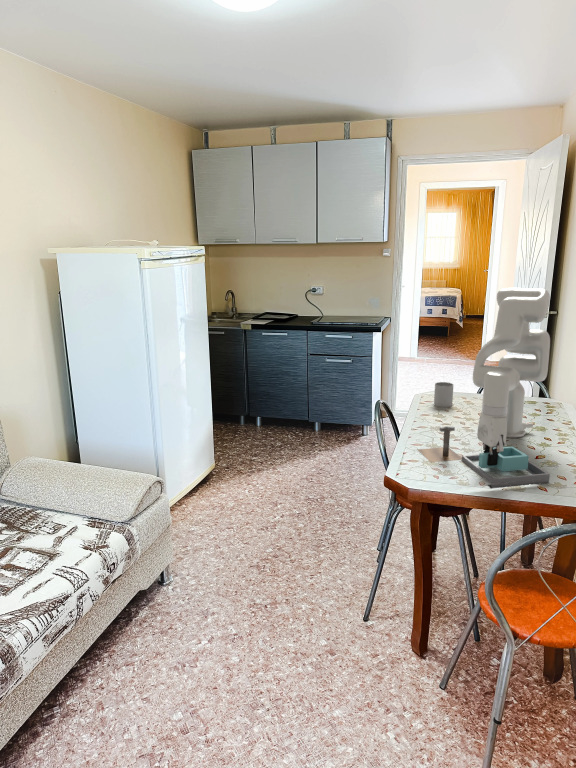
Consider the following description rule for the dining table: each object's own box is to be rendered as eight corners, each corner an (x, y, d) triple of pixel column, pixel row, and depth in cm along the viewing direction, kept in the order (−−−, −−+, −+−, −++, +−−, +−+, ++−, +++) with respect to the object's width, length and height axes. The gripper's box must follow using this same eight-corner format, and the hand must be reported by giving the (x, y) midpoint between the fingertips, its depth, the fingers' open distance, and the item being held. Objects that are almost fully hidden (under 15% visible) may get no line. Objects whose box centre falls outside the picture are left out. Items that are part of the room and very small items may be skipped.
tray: (513, 459, 185) (514, 451, 184) (548, 482, 166) (549, 474, 165) (461, 463, 182) (461, 455, 181) (491, 488, 163) (492, 479, 163)
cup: (434, 406, 247) (435, 386, 244) (433, 401, 255) (434, 382, 252) (453, 407, 245) (454, 386, 243) (451, 402, 253) (452, 382, 251)
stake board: (447, 450, 194) (449, 419, 191) (463, 463, 182) (465, 430, 179) (416, 453, 192) (418, 422, 189) (430, 466, 181) (432, 433, 178)
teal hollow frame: (473, 461, 176) (474, 449, 175) (511, 458, 178) (512, 446, 177) (487, 472, 168) (488, 459, 167) (527, 469, 170) (528, 456, 169)
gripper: (471, 403, 175) (467, 455, 179) (496, 418, 160) (492, 474, 164) (492, 402, 176) (487, 454, 180) (519, 416, 161) (514, 472, 165)
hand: (489, 463), depth 172 cm, fingers closed on teal hollow frame, 2 cm apart
